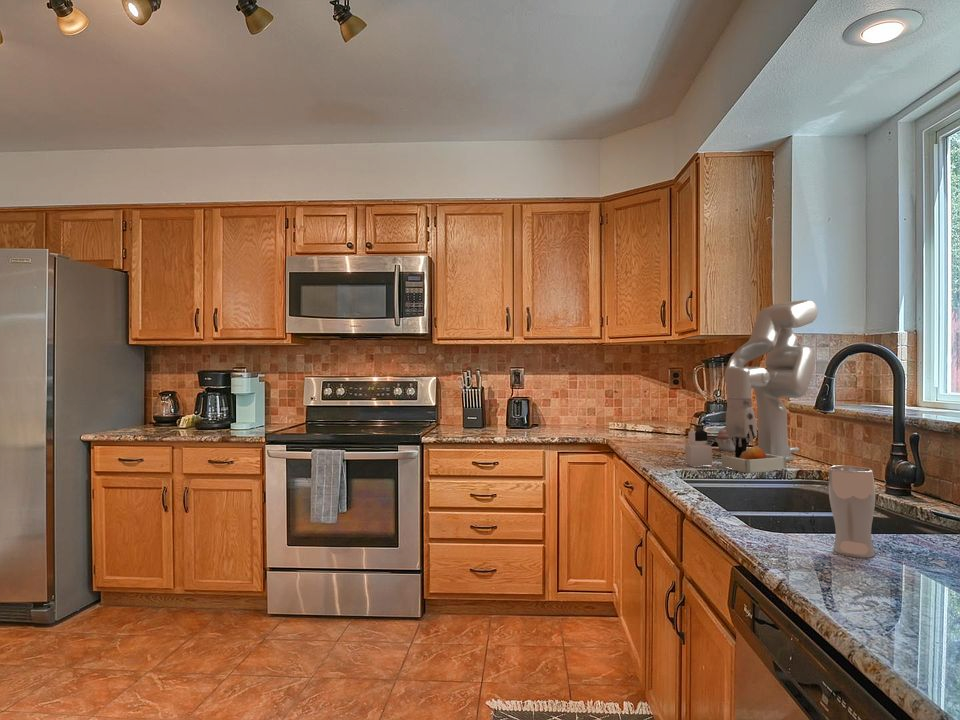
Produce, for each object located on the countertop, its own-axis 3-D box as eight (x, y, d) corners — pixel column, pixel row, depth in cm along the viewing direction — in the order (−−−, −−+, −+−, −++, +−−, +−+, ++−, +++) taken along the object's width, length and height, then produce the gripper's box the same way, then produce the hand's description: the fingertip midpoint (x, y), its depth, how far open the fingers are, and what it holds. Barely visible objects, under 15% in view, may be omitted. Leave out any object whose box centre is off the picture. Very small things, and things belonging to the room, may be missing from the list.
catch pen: (759, 464, 192) (758, 452, 192) (786, 469, 180) (786, 457, 180) (721, 467, 188) (721, 455, 188) (747, 473, 176) (747, 460, 176)
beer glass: (857, 561, 96) (853, 473, 96) (821, 549, 102) (818, 466, 103) (887, 556, 98) (884, 470, 98) (851, 544, 104) (847, 464, 105)
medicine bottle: (706, 463, 195) (705, 429, 196) (712, 467, 188) (711, 431, 189) (685, 463, 196) (684, 429, 196) (690, 467, 189) (689, 431, 189)
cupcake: (712, 451, 224) (711, 426, 224) (719, 448, 231) (718, 424, 232) (736, 452, 218) (735, 427, 218) (743, 449, 225) (742, 425, 226)
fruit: (773, 467, 177) (758, 445, 179) (750, 479, 180) (735, 457, 182) (772, 463, 184) (757, 442, 186) (750, 474, 187) (735, 453, 189)
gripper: (764, 404, 183) (767, 460, 183) (733, 402, 198) (735, 454, 197) (745, 405, 181) (747, 462, 181) (715, 403, 196) (717, 455, 195)
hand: (741, 458), depth 189 cm, fingers closed
